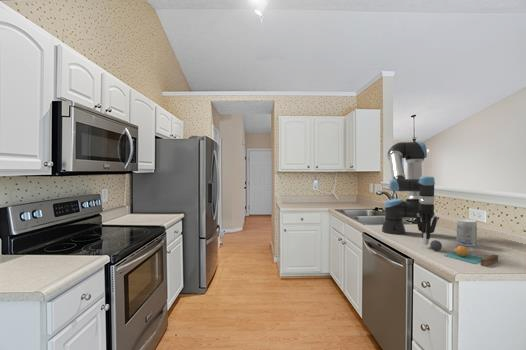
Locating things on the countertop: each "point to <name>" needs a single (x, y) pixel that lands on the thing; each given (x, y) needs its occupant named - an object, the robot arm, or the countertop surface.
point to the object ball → (461, 251)
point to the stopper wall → (489, 260)
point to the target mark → (465, 258)
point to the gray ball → (436, 245)
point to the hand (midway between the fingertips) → (425, 244)
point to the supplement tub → (467, 232)
